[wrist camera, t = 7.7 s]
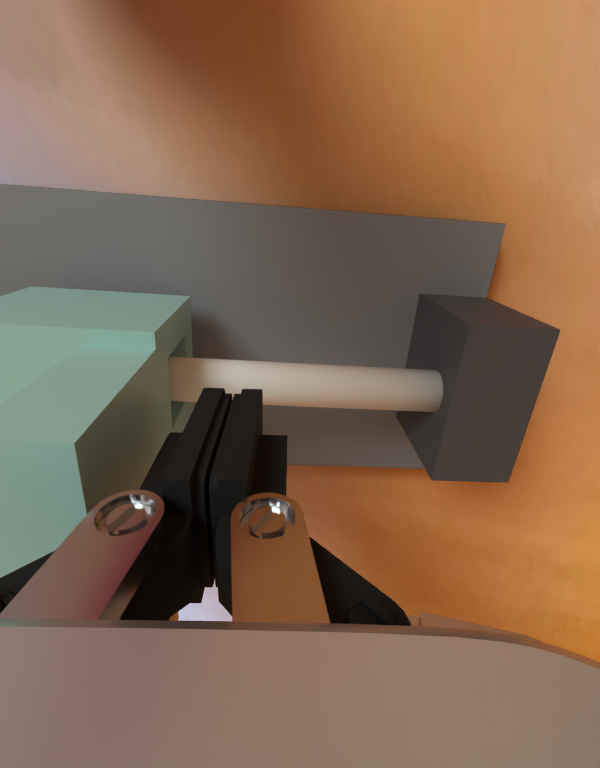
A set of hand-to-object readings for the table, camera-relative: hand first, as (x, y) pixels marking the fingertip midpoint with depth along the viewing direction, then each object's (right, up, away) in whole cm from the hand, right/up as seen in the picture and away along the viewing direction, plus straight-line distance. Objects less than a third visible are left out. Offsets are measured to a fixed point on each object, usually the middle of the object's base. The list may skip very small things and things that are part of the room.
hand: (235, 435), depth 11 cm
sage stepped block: (-6, +3, +5) cm, 8 cm away
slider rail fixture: (-3, +4, +8) cm, 9 cm away
